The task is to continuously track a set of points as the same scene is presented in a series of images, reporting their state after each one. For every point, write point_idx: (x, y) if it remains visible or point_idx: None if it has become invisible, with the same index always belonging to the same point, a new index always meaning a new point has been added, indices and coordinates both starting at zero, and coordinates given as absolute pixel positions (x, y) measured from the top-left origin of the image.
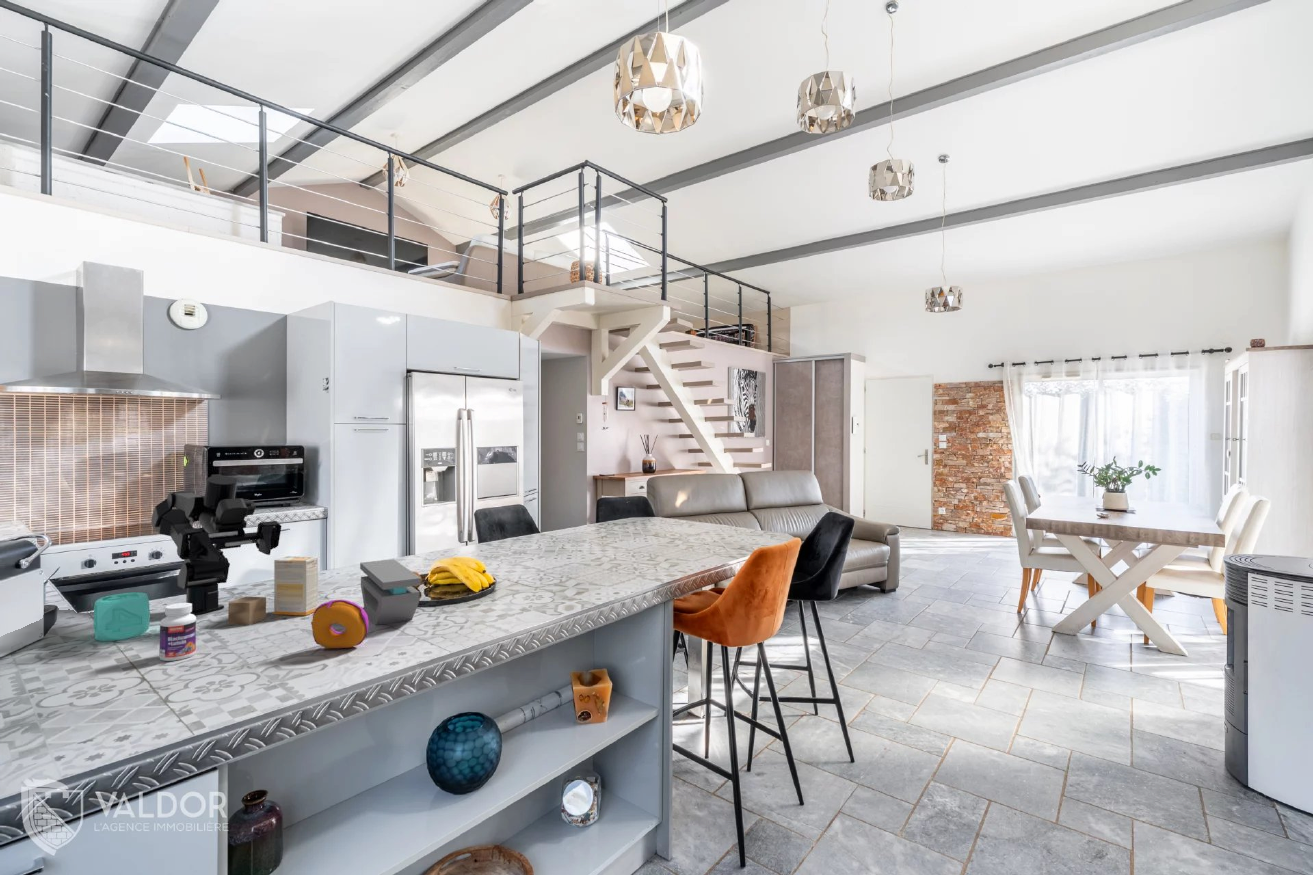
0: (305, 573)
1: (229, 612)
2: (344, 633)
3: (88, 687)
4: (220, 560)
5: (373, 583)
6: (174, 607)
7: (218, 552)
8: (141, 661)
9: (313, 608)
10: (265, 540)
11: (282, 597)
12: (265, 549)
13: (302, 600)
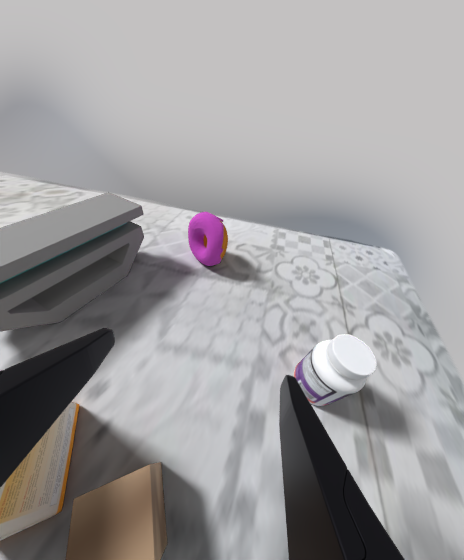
0: None
1: (161, 550)
2: (206, 242)
3: (399, 364)
4: (282, 384)
5: (49, 268)
6: (361, 345)
7: (295, 403)
8: (353, 411)
9: None
10: (10, 385)
11: (39, 480)
12: (81, 367)
13: None
